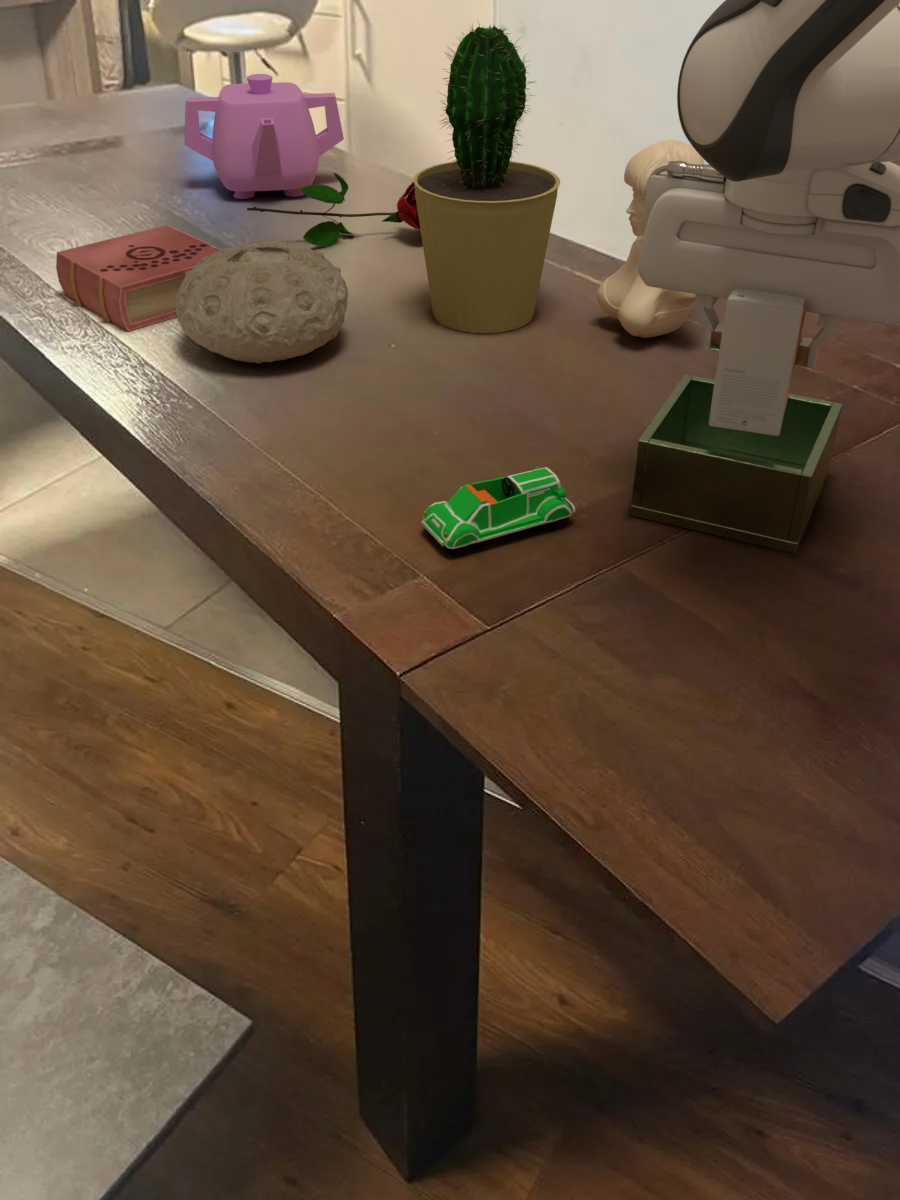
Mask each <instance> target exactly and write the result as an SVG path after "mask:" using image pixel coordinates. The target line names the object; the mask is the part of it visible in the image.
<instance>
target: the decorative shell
mask: <svg viewBox="0 0 900 1200" xmlns="http://www.w3.org/2000/svg"><path fill="white" fill-rule="evenodd" d="M348 298H349V289H348V286H347V284H346V281H345V279H344V278H343V276H342V270H341V268H340V267H339V266H335V265H334V264H333V263H332V262H331V261H330V260H329V259H327V257H325V256H324V252H323V251H317V250H313V249H311V248H309V247H306V246H303V245H296V244H295V242H294V241H290V242H286V241H279V240H268V241H266V240H262V241H260V242H259V241H258V242H253V243H246V244H242V245H241V244H239V245H236V246H234V247H229V246H228V247H224V248H222V249H221V250H220V251H217V252H215V253H212V254H210V255H208V256H206V257H205V258H202V259H201V260H200V261H199V262H198V263H197V264H196V266H195V267H194V268H193V269H192V270H189V271H185V278H184V280H183V282H182V283H181V286H180V289H179V291H178V294H177V299H176V304H177V307H176V315H177V317H176V318H177V322H178V323H179V326H180V327H181V329H182V330H183V332H184V333H185V335H186V336H188V337H189V339H191V340H192V341H193V342H195V343H196V344H197V345H199V346H201V347H204V348H205V349H207V350H209V351H210V352H211V353H216V354H218V355H221V356H223V357H224V358H228V359H231V360H233V361H238V362H246V363H256V364H258V365H259V364H261V363H273V362H276V361H286V360H288V359H293V358H295V357H301V356H305V355H308V354H309V353H312V352H313V351H314V350H316V349H318V348H321V347H323V346H325V345H326V344H327V343H328V342H329V341H332V340H334V339H335V338H336V337H337V336H338V333H339V332H340V331H341V329H342V327H343V324H344V322H345V315H346V312H347V310H348Z"/></svg>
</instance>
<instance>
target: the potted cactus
mask: <svg viewBox="0 0 900 1200" xmlns="http://www.w3.org/2000/svg"><path fill="white" fill-rule="evenodd" d="M477 23H478V26H477V27H476V28H474V26H473V24H471V25H469V27H470V30H469V32H468V30H467V29H465V30H466V32H468V33H467V34H465V33H464V32H463V31H462V30H461V29H460V31H461V34H460V37H456V39H458V41H459V44H458V45H457V44H454V43H453V45H454V46H455V47H457V48H456V50H455V51H454V50H453V49H452V48H451V47H449V46H448V45H446V43H445V44H444V45H445V46H446V47H447V48H446V49H448V50H449V51H450V52H451V53H453V54H450V52H449V51H447V52H446V51H444V54H445V55H446V56H447V58H448V59H449V61H450V62H451V63H448V65H450V68H449V69H450V70H449V71H446V68H443V69H442V71H445V72H446V73H448V74H449V75H448V76H449V77H444V78H443V77H442V80H445V81H446V85H447V93H446V94H447V95H445V94H443V93H441V92H439V91H437V93H439V94H440V95H443V96H444V97H446V100H445V102H446V103H447V104H446V103H445V102H444V100H443V99H441V100H440V103H441V104H443V105H445V106H444V107H441V109H442V110H443V112H444V113H443V114H441V115H440V117H442V116H443V115H444V114H446V116H445V117H444V118H443V119H442V120H440V121H438V123H440V122H441V123H440V124H438V126H439V125H442V124H444V125H443V126H442V128H443V127H445V126H448V127H447V129H450V130H452V133H448V135H449V136H450V135H451V136H452V137H451V139H448V140H446V141H445V142H448V141H452V146H453V148H454V150H451V151H449V152H446V153H445V154H449V153H452V152H454V156H451V157H449V158H448V160H450V159H452V158H454V157H455V160H454V159H453V160H451V161H449V162H444V163H438V164H433V165H431V166H429V167H426V168H423V169H421V170H419V171H418V172H417V173H416V174H415V175H414V177H413V181H412V182H414V184H415V186H414V187H415V197H416V203H417V210H418V216H419V223H420V229H421V231H420V236H421V242H422V247H423V256H424V261H425V269H426V275H427V282H428V288H429V296H430V302H431V310H432V313H433V316H434V318H435V320H436V321H437V322H438V323H440V324H441V325H443V326H445V327H447V328H449V329H452V330H457V331H460V332H465V333H473V334H497V333H506V332H510V331H514V330H517V329H519V328H522V327H524V326H526V325H527V324H529V323H530V322H531V321H532V319H533V317H534V314H535V310H536V304H537V299H538V294H539V290H540V285H541V280H542V275H543V269H544V263H545V260H546V254H547V248H548V243H549V239H550V233H551V228H552V223H553V219H554V213H555V208H556V203H557V199H558V189H559V187H560V186H561V178H559V176H558V175H557V174H556V173H554V172H552V171H551V170H549V169H547V168H544V167H542V166H538V165H535V164H530V163H526V162H520V161H513V158H514V155H513V152H514V153H518V154H519V152H517V151H516V149H518V148H519V147H517V146H520V147H522V146H523V144H521V143H520V144H519V143H518V140H520V139H519V137H521V138H523V136H522V135H521V134H519V133H516V132H522V131H523V130H520V128H517V127H518V126H521V125H522V124H524V120H523V119H524V117H523V115H524V114H525V116H527V114H528V112H529V113H531V111H530V108H529V107H528V106H530V104H526V103H527V102H530V101H531V99H530V98H529V97H533V96H535V94H529V97H528V94H527V93H526V92H528V93H529V91H528V90H529V88H527V85H530V84H533V83H538V82H537V81H536V80H534V81H529V82H527V78H528V77H527V76H526V75H527V74H528V72H527V67H529V66H530V64H528V65H527V66H526V65H525V64H526V63H527V62H529V61H532V59H529V60H527V58H526V57H527V55H528V53H529V52H527V54H526V55H524V56H523V57H522V58H521V56H520V55H519V52H518V51H519V50H521V49H523V48H524V47H523V46H522V47H521V45H519V46H517V43H518V41H519V40H520V39H521V38H522V36H523V35H521V36H520V37H519V38H518V39H517V40H516V41H515V42H514V43H513V42H512V40H511V39H509V38H510V37H509V36H510V35H511V33H509V32H508V33H507V32H506V31H508V30H510V28H509V29H507V28H506V27H505V26H504V24H502V23H501V24H500V25H498V26H497V27H496V25H495V24H496V23H497V22H496V23H495V24H493V25H492V26H491V25H489V26H488V27H486V25H485V26H481V25H480V22H479V21H477ZM500 26H501V27H502V28H499V27H500ZM505 32H506V33H505ZM463 36H464V37H463ZM461 37H462V38H461ZM520 47H521V48H520ZM529 99H530V100H529ZM526 106H527V108H526ZM521 118H522V119H521ZM440 130H441V128H439V130H438V131H440ZM516 135H517V136H518V137H516ZM514 144H515V145H517V146H514Z"/></svg>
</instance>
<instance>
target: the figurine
mask: <svg viewBox="0 0 900 1200" xmlns="http://www.w3.org/2000/svg"><path fill="white" fill-rule="evenodd" d="M670 161H684V162H687V163H688V164H696V165H697V164H699V165H700V164H703V165H704V164H705V160H704V159H703V158H702V157H701V156H700V155H699V154H698V152H697V151H696V150H695V149H694V148H693V146H692V145H691V143H687V142H684V141H681V140H676V139H675V140H674V139H666V140H660V141H657V142H656V143H653V144H650V145H648V146H646V147H644V148H643V149H641V150H640V151H638V152H637V153H635V154H634V155H633V156H632V157H630V158H629V160H628V162H627V164H626V166H625V170H624V174H623V181H624V183H625V184H626V185H628V186H629V187H631V188H632V189H631V191H632V192H633V193H632V198H633V199H632V200H631V201H630V204H629V206H627V208H626V210H625V213H626V214H628V215H629V217H628V220H629V223H630V226H631V231H632V233H633V235H634V236H635V239H634V240H633V242H632V244H631V246H630V250H629V254H628V256H627V258H626V260H625V262H624V263H623V265H622V266H621V267H620V268H619V269H617V270H616V271H615V272H614V273H613V274H612V275H609V276H608V277H607V278H606V279H605V280H604V281H603V282H602V283H601V284H600V286H599V287H598V289H597V292H596V298H597V302H598V304H599V306H600V308H601V309H602V311H603V312H604V313H605V314H607V315H608V316H610V317H612V318H614V319H617V320H618V321H619V323H620V325H621V326H622V328H623V329H624V330H625V331H626V332H627V333H628V334H630V336H633V337H639V338H640V339H650V338H655V337H659V336H663V335H666V334H669V333H672V332H675V331H676V330H678V329H680V328H681V327H682V326H683V325H684V324H685V322H686V321H687V320H688V318H689V315H690V313H691V312H692V311H693V309H694V303H695V296H696V294H693V293H687V292H681V291H675V290H668V289H662V288H656V287H650V286H647V285H645V283H644V282H643V280H642V278H641V277H640V275H639V273H638V265H639V258H640V252H641V247H642V242H643V238H644V234H645V230H646V226H647V222H648V219H649V215H648V213H647V211H646V208H645V195H646V184H647V181H648V178H649V176H650V175H651V173H652V172H653V171H654V170H655V169H657V168H659V167H661V166H665V165H668V163H669V162H670ZM659 174H667V171H664V172H661V173H659ZM667 175H668V174H667Z"/></svg>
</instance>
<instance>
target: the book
mask: <svg viewBox="0 0 900 1200" xmlns="http://www.w3.org/2000/svg"><path fill="white" fill-rule="evenodd" d="M220 250H222V249H221V248H219V247H217V246H214V245H212V244H210V243H208V242H206V241H204V240H201V239H200V238H197V237H195V236H193V235H190V234H189V233H186V232H184V231H182V230H180V229H177V228H175V227H173V226H172V225H169V224H165V225H159V226H157V227H153V228H149V229H144V230H140V231H137V232H133V233H128V234H124V235H120V236H116V237H112V238H108V239H105V240H100V241H96V242H92V243H87V244H84V245H79V246H76V247H72V248H67V249H64V250H60V251H57V252H56V261H55V262H56V264H55V268H56V273H57V278H58V283H59V285H60V287H61V289H62V291H63V293H64V295H65V296H67V297H68V298H70V299H72V300H73V301H75V302H76V303H77V306H78V307H86V308H87V309H89V310H90V311H92V312H94V313H96V314H98V315H100V316H101V317H103V318H104V319H105V321H106V323H107V324H108V323H113V324H115V325H116V326H119V327H120V328H122V329H124V330H125V331H128V332H130V331H134V330H137V329H140V328H144V327H147V326H150V325H151V326H152V325H154V324H158V323H161V322H164V321H168V320H171V319H174V318H177V315H176V307H177V304H176V299H177V294H178V291H179V289H180V286H181V283H182V282H183V280H184V278H185V271H189V270H192V269H193V268H194V267H195V266H196V264H197V263H198V262H199V261H200V260H201V259H202V258H205V257H206V256H208V255H210V254H212V253H215V252H217V251H220Z"/></svg>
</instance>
